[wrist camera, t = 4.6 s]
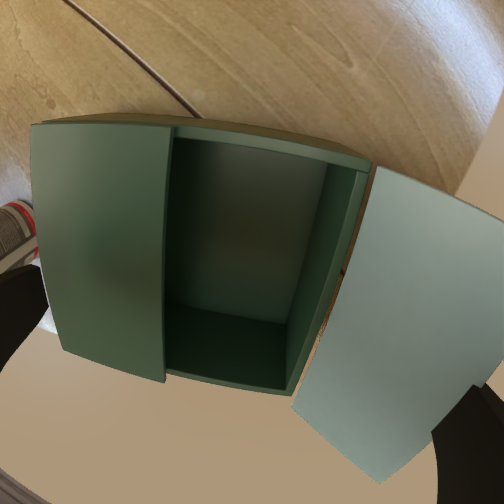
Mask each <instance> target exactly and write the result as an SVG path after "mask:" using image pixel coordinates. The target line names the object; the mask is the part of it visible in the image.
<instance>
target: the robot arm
mask: <svg viewBox="0 0 504 504" xmlns="http://www.w3.org/2000/svg"><path fill="white" fill-rule="evenodd" d="M48 307H49V305H48V301H47V297H46V293H45V289H44V284H43V280H42V275H41V270H40V267H38V266H35V265H32V264H29V265H25V266H21V267H18V268H15V269H12V270H10V271H7V272H4V273H2V274H0V372H1V371H2V369H3V367H4V366H5V364H6V363H7V361H8V360H9V358H10V357H11V356H12V355H13V353H14V352H15V351H16V349H18V347H19V346H20V345H21V344H22V342H23V341H24V340H25V339H26V338H27V337H28V335H29V334H30V333H31V332H32V331H33V329H34V328H35V327H36V326H37V324H38V323H39V321H40V320H41V318H42V317H43V315H44V314H45V312H46V310H47V309H48ZM503 361H504V358H503ZM431 434H432V439H433V443H434V448H435V453H436V460H437V470H438V495H437V504H504V402H503V401H502V400H501V399H500V398H499V397H498V395H496V393H495V392H494V391H493V390H492V389H491V388H490V387H489V386H488V385H487V384H486V383H485V384H484V385H483V386H482V388H479V387H478V386H476V385H474V384H473V385H472V386H471V387H470V388H469V390H468V391H467V392H466V393H465V394H464V396H463V397H462V398H461V399H460V400H459V402H458V403H457V404H456V405H455V406H454V407H453V408H452V409H451V411H450V412H449V413H448V414H447V415H446V416H445V417H444V418H443V419H442V420H441V421H440V422H439V424H438V425H437V426H436V427H435V428H434V429H433V430H432V431H431ZM0 504H51V503H49V502H47V501H46V500H44V499H43V498H41V497H40V496H38V495H36V494H35V493H33V492H32V491H30V490H29V489H28V488H26V487H25V486H23V485H22V484H20V483H19V482H18V481H16V480H15V479H14V478H12V477H11V476H10V475H8V474H7V473H6V472H4V471H3V470H2V469H1V468H0Z"/></svg>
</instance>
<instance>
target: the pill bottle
mask: <svg viewBox="0 0 504 504" xmlns="http://www.w3.org/2000/svg"><path fill="white" fill-rule="evenodd" d="M38 255H39V250H38V243H37V237H36V229H35V221H34V212H33V210H32V209H31V208H30V207H29V206H28V205H27V204H26V203H24V202H22V201H12V202H10V203H8V204H6V205H4V206H2V207H0V274H2V273H4V272H7V271H10V270H12V269H15V268H18V267H21V266H25V265H28V264H29V263H30V262H32V261H33V260H34V259H35V258H36V257H37V256H38Z"/></svg>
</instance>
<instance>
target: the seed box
mask: <svg viewBox="0 0 504 504" xmlns="http://www.w3.org/2000/svg"><path fill="white" fill-rule="evenodd" d="M30 161H31V187H32V201H33V212H34V221H35V229H36V237H37V243H38V250H39V256H40V261H41V267H42V272H43V277H44V282H45V286H46V291H47V295H48V299H49V303H50V307H51V311H52V315H53V319H54V322H55V326H56V329H57V332H58V336H59V339H60V342H61V345H62V348H63V350H65V351H68V352H70V353H72V354H75V355H78V356H80V357H83V358H86V359H88V360H91V361H94V362H96V363H99V364H102V365H105V366H108V367H111V368H114V369H117V370H120V371H123V372H126V373H129V374H133V375H136V376H140V377H143V378H146V379H150V380H154V381H157V382H161V383H165V381H166V373H168V374H171V375H176V376H180V377H184V378H188V379H192V380H197V381H201V382H206V383H211V384H216V385H221V386H226V387H231V388H237V389H242V390H249V391H255V392H261V393H268V394H275V395H283V396H292V394H293V392H294V390H295V388H296V385H297V383H298V381H299V378H300V376H301V374H302V371H303V369H304V367H305V364H306V362H307V360H308V357H309V355H310V352H311V350H312V347H313V345H314V342H315V340H316V337H317V335H318V332H319V329H320V327H321V324H322V322H323V319H324V316H325V314H326V311H327V308H328V306H329V303H330V300H331V297H332V294H333V292H334V289H335V286H336V283H337V280H338V277H339V274H340V271H341V268H342V265H343V262H344V259H345V256H346V253H347V250H348V247H349V244H350V240H351V237H352V234H353V231H354V227H355V224H356V221H357V217H358V214H359V210H360V207H361V203H362V200H363V196H364V192H365V188H366V185H367V181H368V177H369V174H368V173H369V172H370V169H371V165H372V161H371V160H370V159H368V158H366V157H364V156H362V155H361V154H359V153H357V152H355V151H353V150H351V149H349V148H347V147H345V146H343V145H341V144H339V143H336V142H332V141H328V140H324V139H319V138H315V137H310V136H306V135H301V134H296V133H292V132H286V131H281V130H276V129H271V128H265V127H259V126H253V125H247V124H240V123H233V122H226V121H218V120H210V119H201V118H192V117H181V116H169V115H154V114H135V113H102V114H92V115H83V116H74V117H67V118H59V119H53V120H46V121H42V122H41V123H36V124H32V125H31V140H30Z"/></svg>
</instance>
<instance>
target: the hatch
mask: <svg viewBox="0 0 504 504" xmlns="http://www.w3.org/2000/svg"><path fill="white" fill-rule="evenodd" d="M503 358H504V221H503V220H501V219H499V218H497V217H495V216H493V215H491V214H489V213H487V212H486V211H484V210H482V209H480V208H478V207H475V206H474V205H472V204H470V203H468V202H466V201H463V200H461V199H459V198H457V197H455V196H453V195H451V194H448V193H446V192H444V191H442V190H440V189H437V188H435V187H433V186H430V185H428V184H426V183H423V182H421V181H419V180H416V179H414V178H411V177H409V176H406V175H404V174H401V173H399V172H396V171H393V170H391V169H388V168H385V167H383V166H377V170H376V173H375V177H374V181H373V185H372V189H371V192H370V196H369V199H368V203H367V206H366V210H365V213H364V217H363V220H362V223H361V227H360V230H359V233H358V236H357V240H356V243H355V246H354V249H353V252H352V255H351V258H350V261H349V264H348V267H347V270H346V273H345V276H344V279H343V282H342V284H341V287H340V290H339V293H338V295H337V298H336V301H335V304H334V306H333V309H332V312H331V314H330V317H329V319H328V322H327V324H326V327H325V330H324V332H323V335H322V337H321V340H320V342H319V344H318V347H317V349H316V352H315V354H314V356H313V359H312V361H311V363H310V366H309V368H308V370H307V373H306V375H305V377H304V379H303V382H302V384H301V386H300V388H299V390H298V393H297V395H296V397H295V399H294V401H293V404H292V405H291V408H292V409H293V410H294V411H295V412H296V413H297V414H299V415H300V416H301V417H302V418H303V419H304V420H305V421H306V422H307V423H308V424H309V425H310V426H312V427H313V428H314V429H315V430H316V431H317V432H318V433H319V434H320V435H322V436H323V437H324V438H325V439H326V440H327V441H328V442H329V443H330V444H332V445H333V446H334V447H335V448H336V449H337V450H339V451H340V452H341V453H342V454H343V455H345V456H346V457H347V458H348V459H349V460H350V461H352V462H353V463H354V464H355V465H356V466H357V467H359V468H360V469H361V470H362V471H364V472H365V473H366V474H367V475H368V476H370V477H371V478H372V479H373V480H375V481H376V482H377V483H379V484H381V483H382V482H383V481H385V480H386V479H387V478H389V477H390V476H391V475H393V474H394V473H395V472H397V471H398V470H399V469H400V468H402V467H403V466H404V465H405V464H406V463H408V462H409V461H410V460H411V459H412V458H414V457H415V456H416V455H417V454H418V453H419V452H420V451H422V449H424V448H425V447H426V446H427V445H428V444H429V443H430V442H431V441H432V440H433V439H432V434H431V431H432V430H433V429H434V428H435V427H436V426H437V425H438V424H439V422H440V421H441V420H442V419H443V418H444V417H445V416H446V415H447V414H448V413H449V412H450V411H451V409H452V408H453V407H454V406H455V405H456V404H457V403H458V402H459V400H460V399H461V398H462V397H463V396H464V394H465V393H466V392H467V391H468V390H469V388H470V387H471V386H472V385H473V384H474V385H476V386H478V387H479V388H482V386H483V385H484V384H485V383H486V381H487V380H488V379H489V377H490V376H491V375H492V374H493V372H494V371H495V370H496V368H497V367H498V365H499V364H500V363H501V361H502V360H503Z"/></svg>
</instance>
